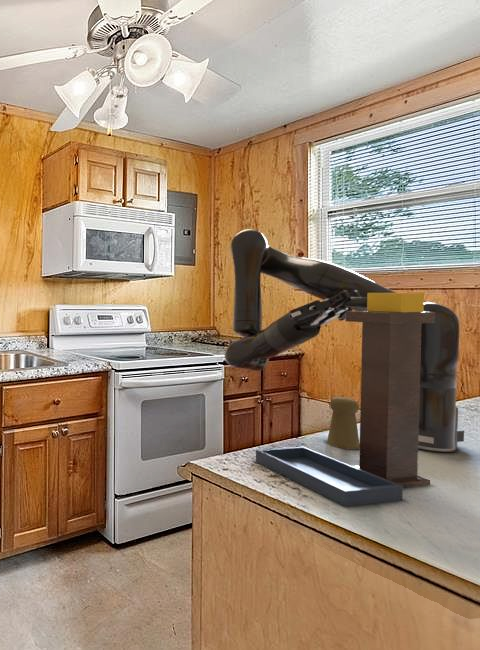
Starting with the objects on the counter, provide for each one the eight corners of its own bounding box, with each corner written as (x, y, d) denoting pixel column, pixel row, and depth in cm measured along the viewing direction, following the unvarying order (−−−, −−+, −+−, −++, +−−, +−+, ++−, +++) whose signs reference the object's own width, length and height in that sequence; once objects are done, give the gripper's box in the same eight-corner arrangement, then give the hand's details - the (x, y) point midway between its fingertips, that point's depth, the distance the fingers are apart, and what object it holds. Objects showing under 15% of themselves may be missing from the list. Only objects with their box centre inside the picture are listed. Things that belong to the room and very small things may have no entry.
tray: (302, 457, 92) (303, 446, 92) (402, 500, 73) (403, 486, 72) (255, 461, 90) (255, 449, 90) (345, 506, 71) (345, 491, 70)
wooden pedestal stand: (384, 468, 86) (388, 310, 85) (430, 485, 78) (435, 312, 77) (342, 471, 84) (345, 311, 83) (385, 489, 76) (389, 312, 75)
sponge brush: (339, 309, 92) (339, 293, 92) (423, 312, 77) (424, 292, 77) (319, 309, 92) (319, 293, 92) (400, 312, 76) (401, 292, 76)
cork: (347, 440, 102) (348, 395, 102) (366, 449, 96) (368, 401, 96) (321, 439, 103) (322, 394, 103) (338, 448, 97) (339, 401, 97)
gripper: (259, 317, 103) (316, 278, 87) (308, 316, 105) (372, 278, 90) (271, 345, 99) (332, 310, 84) (322, 344, 101) (390, 310, 86)
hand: (352, 294), depth 87 cm, fingers closed on sponge brush, 2 cm apart
